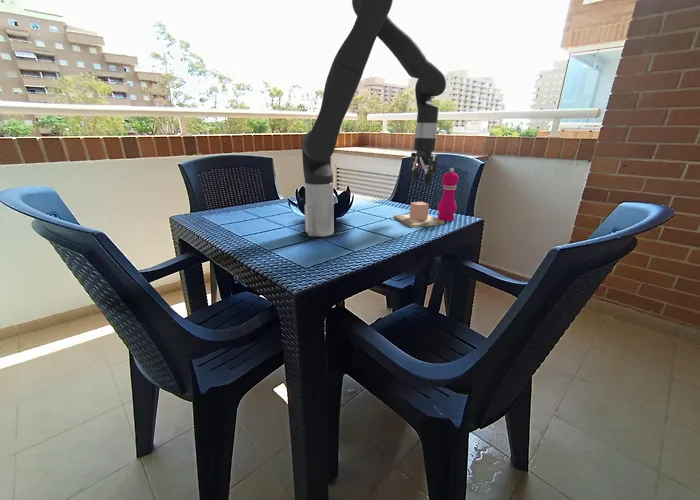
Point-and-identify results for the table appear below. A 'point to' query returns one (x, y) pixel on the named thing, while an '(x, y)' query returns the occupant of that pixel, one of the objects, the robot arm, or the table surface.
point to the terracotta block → (419, 211)
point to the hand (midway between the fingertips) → (420, 182)
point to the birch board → (420, 223)
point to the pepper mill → (448, 196)
